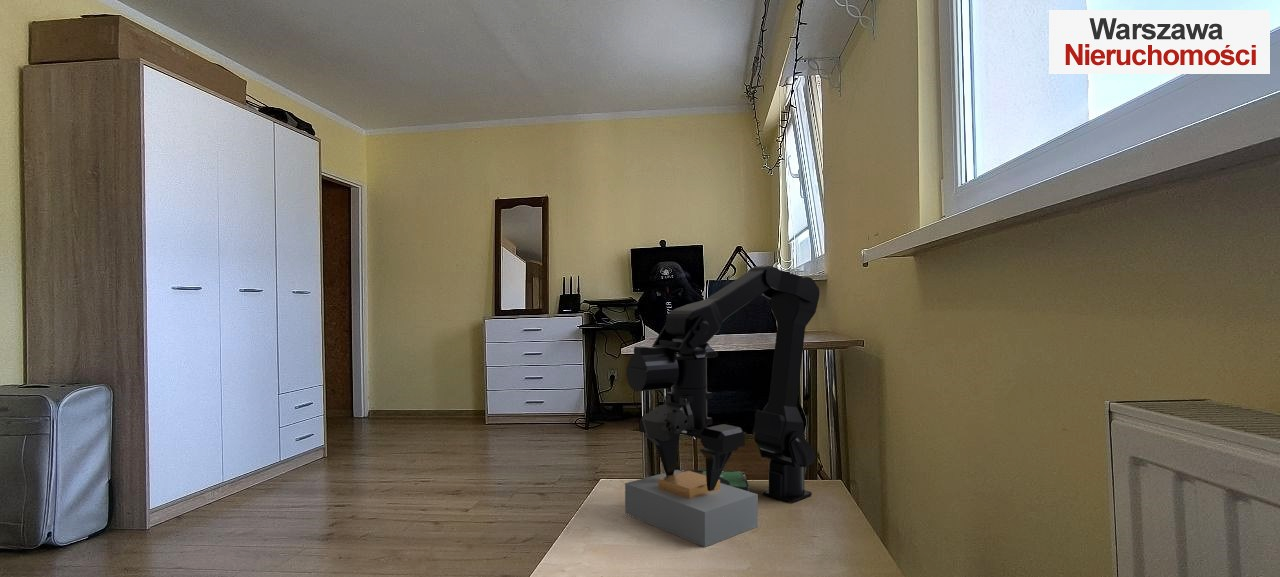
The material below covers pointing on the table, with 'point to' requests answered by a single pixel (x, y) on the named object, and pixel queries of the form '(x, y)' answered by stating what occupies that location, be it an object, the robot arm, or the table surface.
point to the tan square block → (686, 484)
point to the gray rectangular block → (693, 510)
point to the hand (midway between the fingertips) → (689, 483)
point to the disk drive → (729, 478)
